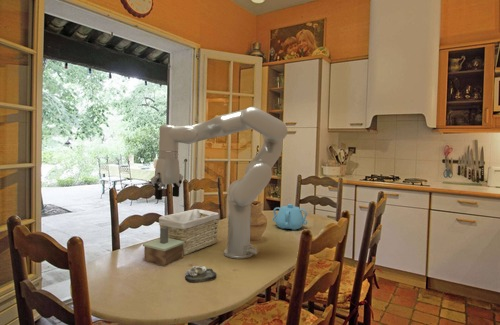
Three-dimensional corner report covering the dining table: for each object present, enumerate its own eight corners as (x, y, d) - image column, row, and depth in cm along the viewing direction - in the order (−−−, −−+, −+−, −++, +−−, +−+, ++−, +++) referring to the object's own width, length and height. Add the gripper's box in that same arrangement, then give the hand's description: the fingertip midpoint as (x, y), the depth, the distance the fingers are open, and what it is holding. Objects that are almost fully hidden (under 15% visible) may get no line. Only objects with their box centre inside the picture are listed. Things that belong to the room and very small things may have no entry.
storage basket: (182, 257, 131) (182, 222, 131) (156, 249, 141) (156, 216, 140) (220, 243, 151) (220, 212, 150) (195, 237, 160) (196, 208, 159)
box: (183, 257, 131) (183, 243, 130) (164, 266, 122) (164, 250, 121) (163, 253, 136) (163, 239, 136) (144, 260, 127) (144, 245, 126)
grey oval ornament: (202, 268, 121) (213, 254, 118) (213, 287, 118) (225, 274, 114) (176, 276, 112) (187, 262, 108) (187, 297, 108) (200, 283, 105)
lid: (184, 246, 131) (184, 226, 130) (164, 254, 121) (164, 233, 120) (163, 241, 136) (163, 223, 136) (142, 248, 126) (142, 229, 126)
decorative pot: (283, 232, 172) (283, 207, 171) (270, 225, 187) (271, 202, 186) (309, 230, 178) (310, 206, 177) (295, 223, 193) (295, 201, 192)
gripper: (176, 155, 138) (174, 194, 139) (145, 155, 123) (144, 199, 124) (189, 156, 135) (188, 196, 136) (159, 156, 119) (158, 201, 120)
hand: (167, 197), depth 130 cm, fingers open, 9 cm apart
